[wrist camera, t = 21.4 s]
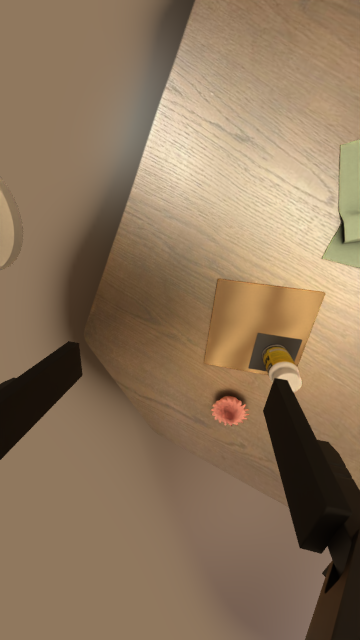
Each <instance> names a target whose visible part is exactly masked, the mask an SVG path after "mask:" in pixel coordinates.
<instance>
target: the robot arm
mask: <svg viewBox="0 0 360 640" xmlns="http://www.w3.org/2000/svg"><path fill="white" fill-rule="evenodd" d="M81 376H82V368H81V358H80V349H79V343H75V342H67V343H66V344H64V345H63V346H62V347H60V348H59V349H57V350H56V351H54V352H53V353H52V354H50V355H49V356H47V357H46V358H44V359H43V360H42V361H40V362H39V363H38V364H36V365H35V366H33V367H32V368H31V369H29V370H27V371H26V372H25V373H23V374H22V375H20V376H19V377H18V378H12V379H10V380H7V381H5V382H3V383H1V384H0V460H1V459H2V458H3V457H4V456H5V455H6V454H7V452H8V451H9V450H10V449H11V448H12V447H13V446H14V445H15V444H16V443H17V442H18V441H19V440H20V439H21V438H22V437H23V436H24V435H25V434H26V433H27V432H28V431H29V430H30V429H31V428H32V427H33V426H34V425H35V424H36V423H37V422H38V421H39V420H40V419H41V417H43V415H44V414H45V413H46V412H47V411H48V410H49V409H50V408H51V407H52V406H53V405H54V404H55V403H56V402H57V401H58V400H59V399H60V398H61V397H62V396H63V395H64V394H65V393H66V392H67V391H68V390H69V389H70V388H71V387H72V386H73V385H74V384H75V383H76V382H77V380H78V379H79V378H80V377H81ZM263 412H264V416H265V419H266V423H267V427H268V431H269V434H270V438H271V442H272V446H273V449H274V453H275V457H276V461H277V464H278V468H279V472H280V476H281V479H282V483H283V487H284V491H285V494H286V498H287V502H288V506H289V509H290V513H291V517H292V521H293V524H294V528H295V532H296V536H297V539H298V543H299V547H300V548H302V549H306V550H310V551H313V552H317V553H322V552H323V551H324V550H325V548H326V547H327V546H328V549H329V551H330V554H331V557H332V562H331V563H330V564H329V565H328V566H327V568H326V569H325V570H324V571H323V573H322V574H323V575H324V576H325V581H324V583H323V587H322V590H321V593H320V596H319V599H318V602H317V605H316V608H315V611H314V614H313V617H312V620H311V623H310V626H309V629H308V632H307V635H306V639H305V640H360V490H359V489H358V487H357V485H356V483H355V482H354V480H353V479H352V476H351V474H350V473H349V471H348V469H347V468H346V466H345V464H344V462H343V460H342V458H341V457H340V455H339V453H338V452H337V451H336V450H335V449H334V448H333V447H332V446H331V445H330V444H329V442H326V441H321V440H317V439H316V437H315V435H314V433H313V431H312V429H311V427H310V425H309V423H308V421H307V419H306V417H305V415H304V413H303V411H302V409H301V407H300V405H299V403H298V401H297V399H296V397H295V395H294V393H293V391H292V389H291V387H290V384H289V382H288V380H284V379H278V378H274V381H273V384H272V387H271V390H270V393H269V395H268V398H267V401H266V404H265V407H264V410H263Z"/></svg>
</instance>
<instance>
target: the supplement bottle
mask: <svg viewBox="0 0 360 640" xmlns="http://www.w3.org/2000/svg"><path fill="white" fill-rule="evenodd" d="M262 359H263V362H264V364H265V367H266V370H267V373H268V375H269V378H270V380H271V381H272V382H273V381H274V378H278V379H284V380H288V382H289V384H290V387H291V389H292V391H293V392H296V391H297V390H299V389H300V387H301V385H302V380H301V378H300V376H299V370H298V368H297V366H296V364H295V363H294V361H293V360H292V358H291V356H290V354H289V353H288V351H287V350H286V349H285V348H284V347H283V346H281V345H271V346H269V347H267V348H266V349H265V350H264V351H263V353H262Z"/></svg>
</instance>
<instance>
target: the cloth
mask: <svg viewBox="0 0 360 640" xmlns="http://www.w3.org/2000/svg"><path fill="white" fill-rule="evenodd" d="M339 213H340V215H341V217H342V219H343V222H342V223H341V225H340V227H339V229H338V231H337V232H336V234H335V235H334V237H333V239H332V240H331V242H330V244H329V246H328V248H327V249H326V251H325V253H324V255H323V257H322V258H323V259H327V260H330V261H334V262H338V263H341V264H346V265H350V266H353V267H357V268H360V140H356V141H353V142H350V143H347V144H343V145H340V168H339Z"/></svg>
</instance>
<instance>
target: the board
mask: <svg viewBox="0 0 360 640" xmlns="http://www.w3.org/2000/svg"><path fill="white" fill-rule="evenodd" d="M324 296H325V293H324V292H320V291H312V290H304V289H296V288H288V287H280V286H272V285H264V284H257V283H249V282H241V281H233V280H225V279H218V281H217V287H216V293H215V299H214V305H213V310H212V316H211V322H210V328H209V334H208V340H207V346H206V352H205V358H204V364H208V365H214V366H220V367H225V368H231V369H237V370H242V371H248V372H254V373H259V374H265V375H268V373H267V370H266V367H265V364H264V362H263V359H262V353H263V351H264V350H265V349H266V348H267V347H269V346H271V345H281V346H283V347H284V348H285V349H286V350H287V351H288V353H289V354H290V356H291V358H292V360H293V361H294V363H295V364H296V366H298V364H299V361H300V358H301V356H302V353H303V351H304V348H305V345H306V343H307V340H308V338H309V335H310V332H311V330H312V327H313V325H314V322H315V319H316V317H317V314H318V312H319V309H320V306H321V304H322V301H323V298H324Z"/></svg>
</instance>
